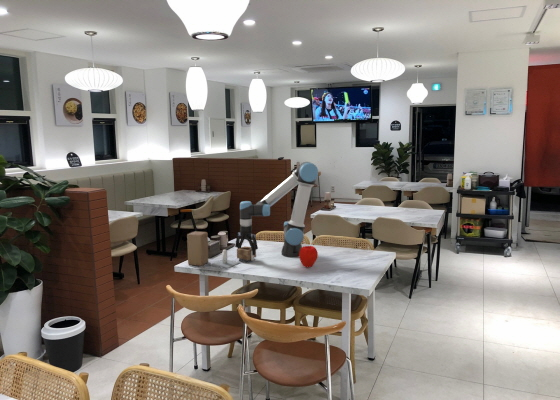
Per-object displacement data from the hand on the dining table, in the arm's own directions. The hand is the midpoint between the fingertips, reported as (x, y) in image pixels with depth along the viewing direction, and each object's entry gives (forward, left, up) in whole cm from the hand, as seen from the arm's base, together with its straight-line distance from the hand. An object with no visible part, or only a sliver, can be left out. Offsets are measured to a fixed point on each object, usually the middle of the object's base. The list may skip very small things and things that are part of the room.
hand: (246, 258), depth 292 cm
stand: (0, 0, -1) cm, 1 cm away
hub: (+7, +14, -1) cm, 16 cm away
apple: (-42, -6, -1) cm, 42 cm away
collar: (0, 0, +1) cm, 1 cm away
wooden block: (+23, +21, -1) cm, 31 cm away
